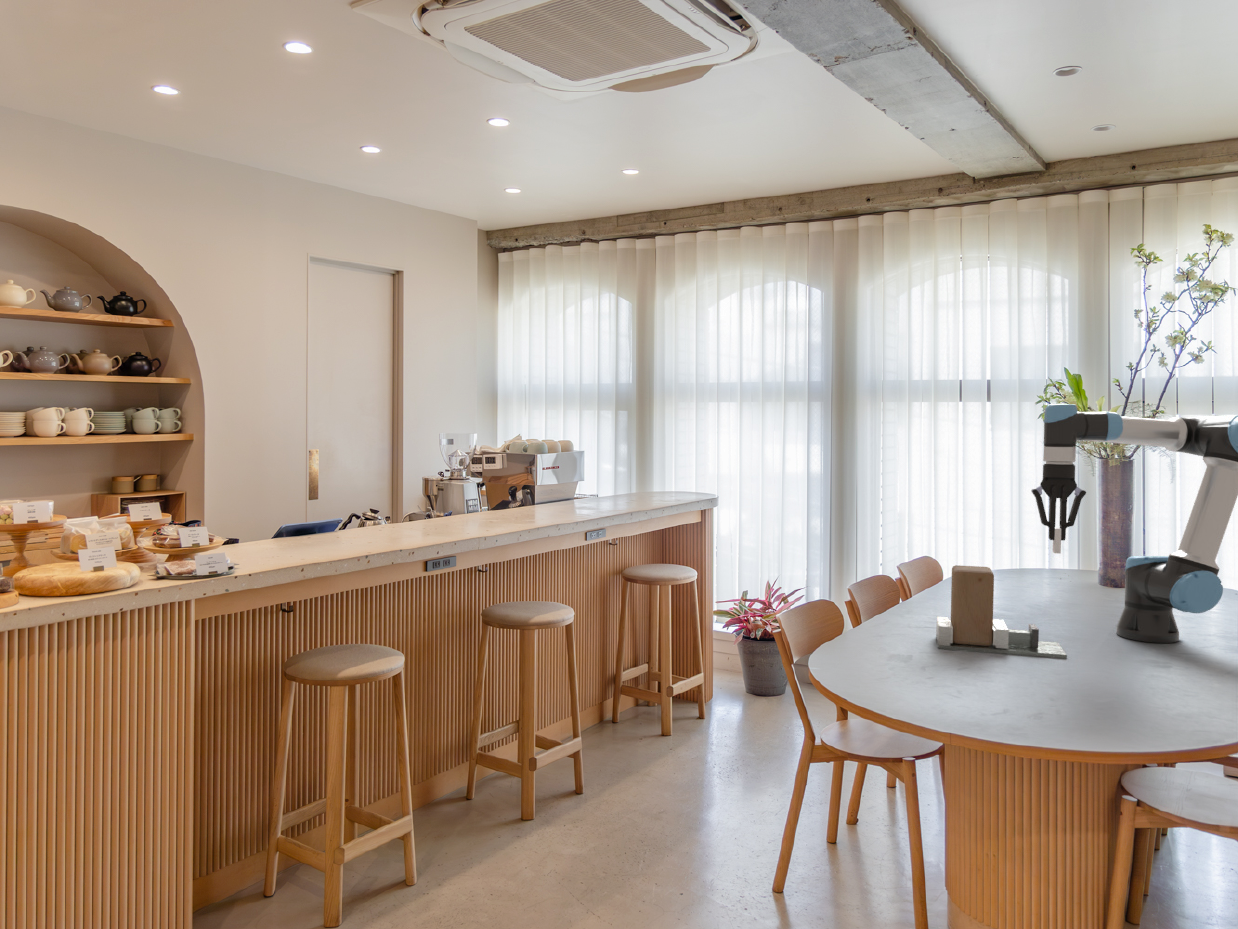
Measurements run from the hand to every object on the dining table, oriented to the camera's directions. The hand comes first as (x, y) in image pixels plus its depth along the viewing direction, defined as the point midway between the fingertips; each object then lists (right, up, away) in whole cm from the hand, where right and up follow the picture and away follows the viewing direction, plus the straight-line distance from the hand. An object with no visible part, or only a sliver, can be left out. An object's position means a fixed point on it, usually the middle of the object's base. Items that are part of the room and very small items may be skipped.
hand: (1056, 552), depth 228 cm
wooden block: (-19, -25, +8) cm, 33 cm away
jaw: (-9, -25, +4) cm, 27 cm away
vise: (-13, -26, +5) cm, 30 cm away
